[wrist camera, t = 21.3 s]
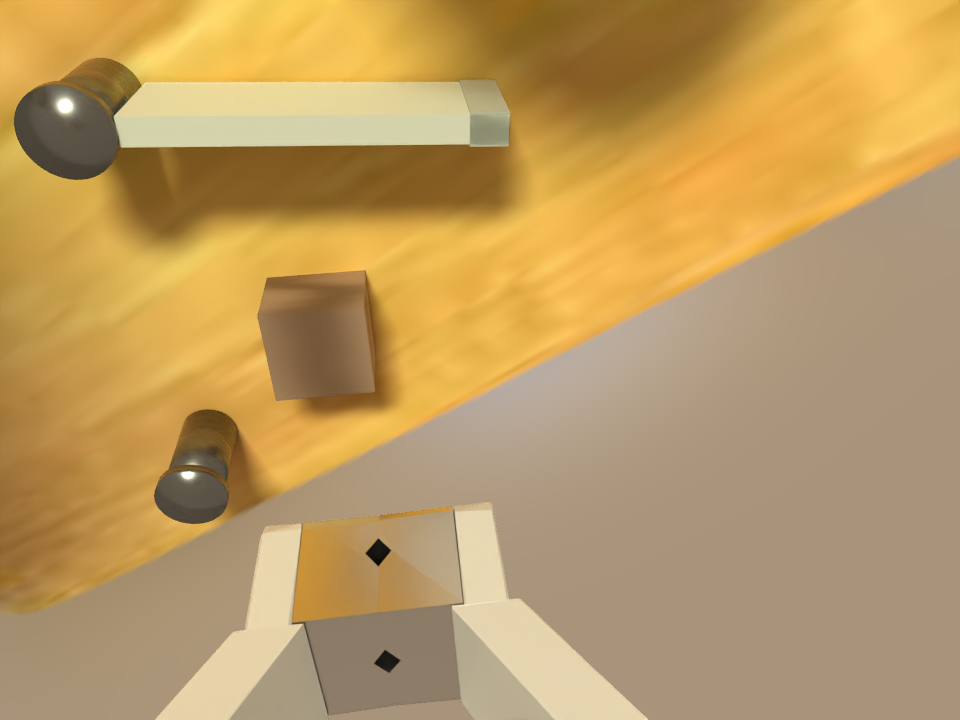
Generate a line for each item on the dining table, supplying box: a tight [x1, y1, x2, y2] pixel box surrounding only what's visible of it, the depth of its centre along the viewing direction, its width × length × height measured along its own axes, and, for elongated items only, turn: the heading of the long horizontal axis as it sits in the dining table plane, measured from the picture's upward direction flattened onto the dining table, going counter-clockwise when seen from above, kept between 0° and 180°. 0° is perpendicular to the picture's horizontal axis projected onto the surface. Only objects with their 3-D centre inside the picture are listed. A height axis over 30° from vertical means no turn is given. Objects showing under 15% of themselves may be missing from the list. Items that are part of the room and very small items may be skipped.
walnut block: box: [258, 270, 375, 401], centre depth 40 cm, size 5×5×4 cm
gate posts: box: [14, 58, 237, 524], centre depth 37 cm, size 4×23×6 cm, turn 3°
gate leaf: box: [114, 79, 510, 148], centre depth 33 cm, size 1×15×5 cm, turn 88°
